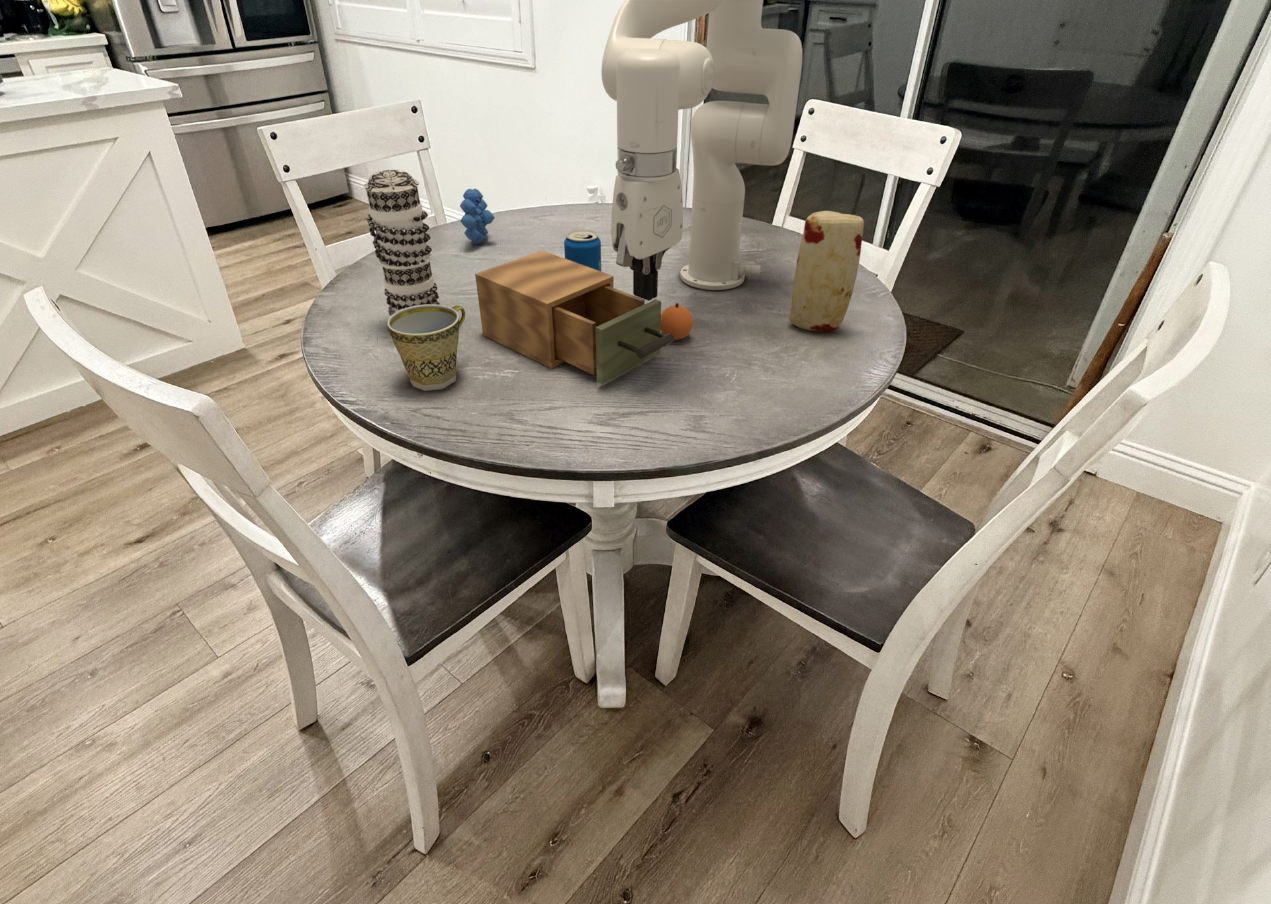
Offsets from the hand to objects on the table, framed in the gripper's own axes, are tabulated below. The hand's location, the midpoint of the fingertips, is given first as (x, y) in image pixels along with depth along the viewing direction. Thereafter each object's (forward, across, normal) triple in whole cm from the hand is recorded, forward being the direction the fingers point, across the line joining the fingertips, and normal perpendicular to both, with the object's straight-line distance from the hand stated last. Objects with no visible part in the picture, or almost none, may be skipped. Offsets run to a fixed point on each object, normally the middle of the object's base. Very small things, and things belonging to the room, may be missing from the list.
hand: (645, 296), depth 100 cm
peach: (+10, +13, +4) cm, 17 cm away
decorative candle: (+13, -14, +40) cm, 44 cm away
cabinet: (+13, -1, +20) cm, 24 cm away
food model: (+13, +32, -12) cm, 37 cm away
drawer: (+12, -1, +7) cm, 14 cm away
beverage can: (+13, +14, +26) cm, 33 cm away
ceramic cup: (+13, -21, +22) cm, 33 cm away
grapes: (+14, +19, +63) cm, 67 cm away
